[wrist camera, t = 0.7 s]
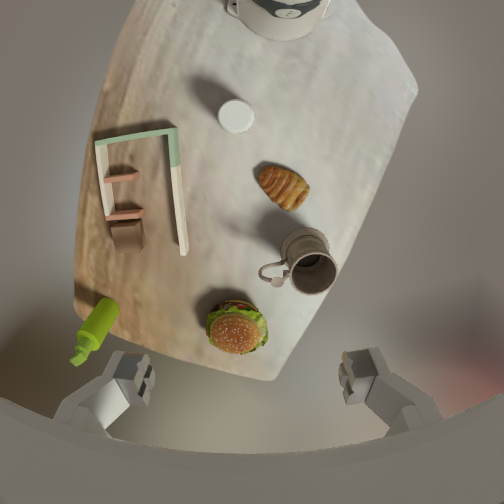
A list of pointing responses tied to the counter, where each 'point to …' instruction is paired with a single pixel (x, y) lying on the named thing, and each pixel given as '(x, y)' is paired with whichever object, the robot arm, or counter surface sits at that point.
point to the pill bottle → (235, 116)
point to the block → (128, 236)
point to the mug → (305, 277)
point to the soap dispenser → (95, 329)
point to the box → (107, 179)
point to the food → (236, 327)
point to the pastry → (283, 187)
